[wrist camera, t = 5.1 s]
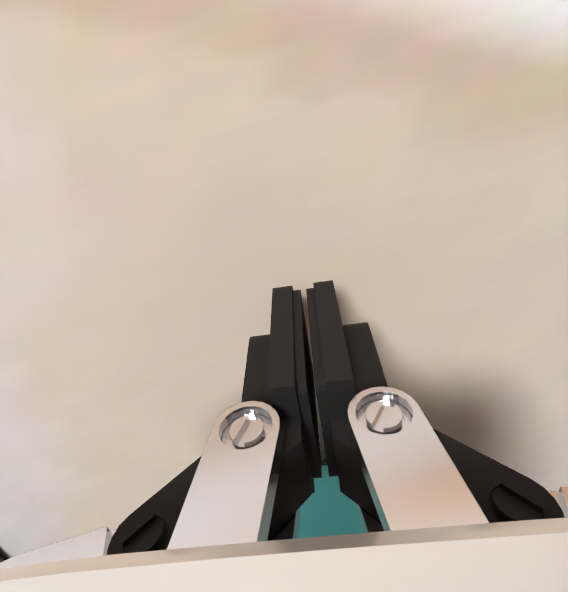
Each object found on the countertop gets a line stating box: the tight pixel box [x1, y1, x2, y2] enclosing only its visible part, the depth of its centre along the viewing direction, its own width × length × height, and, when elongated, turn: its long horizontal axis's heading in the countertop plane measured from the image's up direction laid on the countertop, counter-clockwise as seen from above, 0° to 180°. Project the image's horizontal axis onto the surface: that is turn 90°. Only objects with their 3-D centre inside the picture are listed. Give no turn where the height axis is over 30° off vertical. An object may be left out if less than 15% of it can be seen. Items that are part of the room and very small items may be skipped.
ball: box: [298, 465, 365, 538], centre depth 15 cm, size 6×6×6 cm
